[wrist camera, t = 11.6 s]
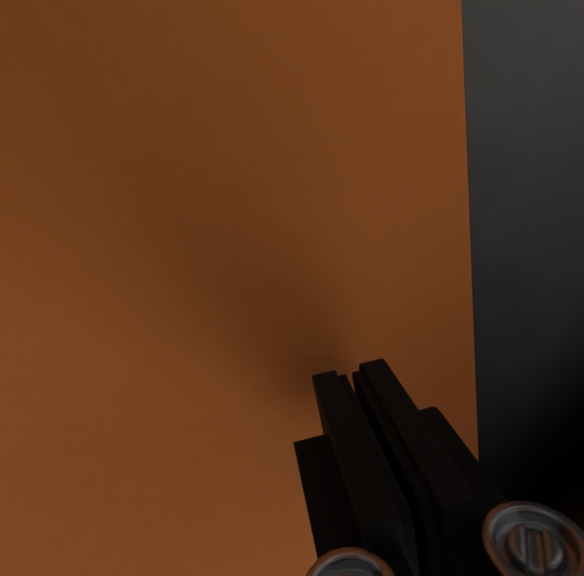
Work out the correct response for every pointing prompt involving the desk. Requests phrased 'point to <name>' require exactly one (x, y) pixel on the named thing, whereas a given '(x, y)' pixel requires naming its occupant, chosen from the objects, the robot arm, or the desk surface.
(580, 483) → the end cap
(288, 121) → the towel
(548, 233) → the desk surface
